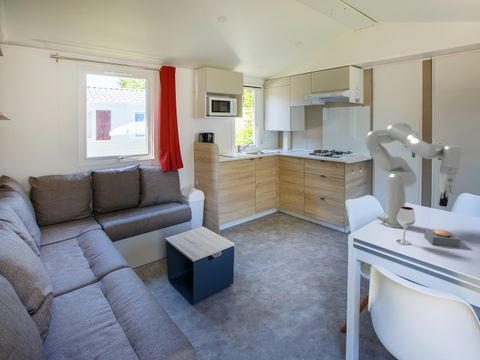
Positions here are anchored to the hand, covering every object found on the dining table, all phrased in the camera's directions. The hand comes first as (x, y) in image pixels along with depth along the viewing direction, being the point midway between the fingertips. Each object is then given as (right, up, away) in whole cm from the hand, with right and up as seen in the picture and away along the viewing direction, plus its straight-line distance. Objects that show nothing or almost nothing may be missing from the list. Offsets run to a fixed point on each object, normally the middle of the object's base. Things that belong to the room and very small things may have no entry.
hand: (442, 205), depth 151 cm
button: (-1, -18, 0) cm, 18 cm away
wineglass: (-20, -19, -1) cm, 28 cm away
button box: (-1, -18, 0) cm, 18 cm away
